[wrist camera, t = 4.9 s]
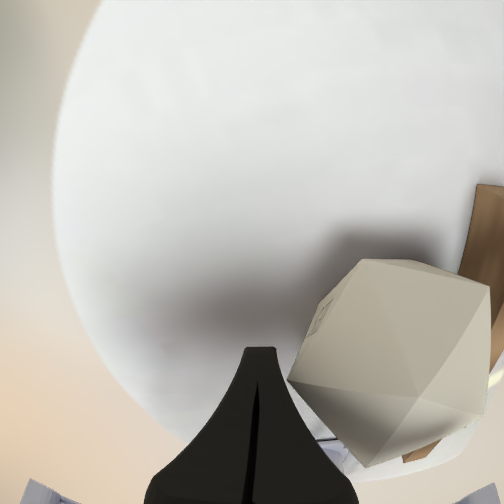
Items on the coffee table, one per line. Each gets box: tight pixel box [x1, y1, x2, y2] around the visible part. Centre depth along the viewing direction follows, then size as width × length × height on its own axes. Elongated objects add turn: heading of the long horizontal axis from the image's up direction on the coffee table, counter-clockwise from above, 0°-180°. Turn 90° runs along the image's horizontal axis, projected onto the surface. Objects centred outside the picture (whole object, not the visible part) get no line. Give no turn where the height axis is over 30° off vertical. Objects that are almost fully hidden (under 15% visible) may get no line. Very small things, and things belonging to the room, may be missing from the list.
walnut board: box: [402, 184, 504, 463], centre depth 14 cm, size 20×2×4 cm, turn 4°
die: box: [287, 259, 491, 468], centre depth 11 cm, size 8×9×10 cm
